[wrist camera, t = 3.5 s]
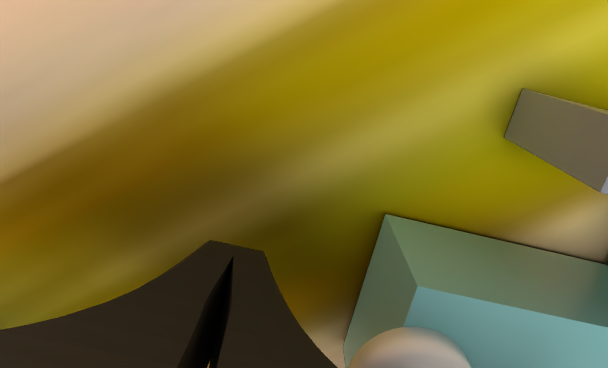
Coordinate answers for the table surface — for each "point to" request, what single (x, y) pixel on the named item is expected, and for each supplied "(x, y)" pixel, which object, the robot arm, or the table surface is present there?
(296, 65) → the table surface
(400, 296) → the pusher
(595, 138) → the grey tray
